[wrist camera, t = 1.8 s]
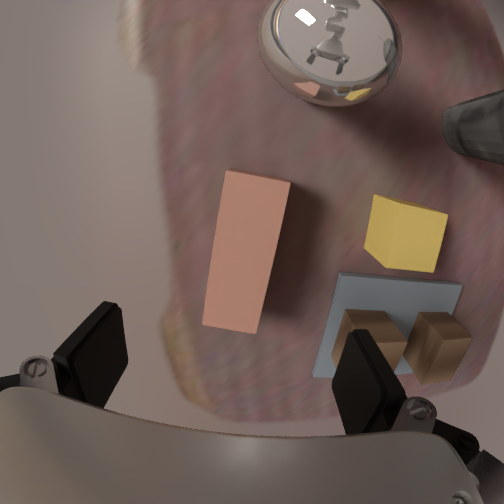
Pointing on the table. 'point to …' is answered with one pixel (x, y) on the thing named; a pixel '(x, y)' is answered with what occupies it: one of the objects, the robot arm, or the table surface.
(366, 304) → the board
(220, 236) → the beam
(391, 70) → the light bulb
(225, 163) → the table surface
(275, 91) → the table surface
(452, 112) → the beverage cup
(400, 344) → the block
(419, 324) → the pier
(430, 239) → the cube
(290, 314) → the table surface
